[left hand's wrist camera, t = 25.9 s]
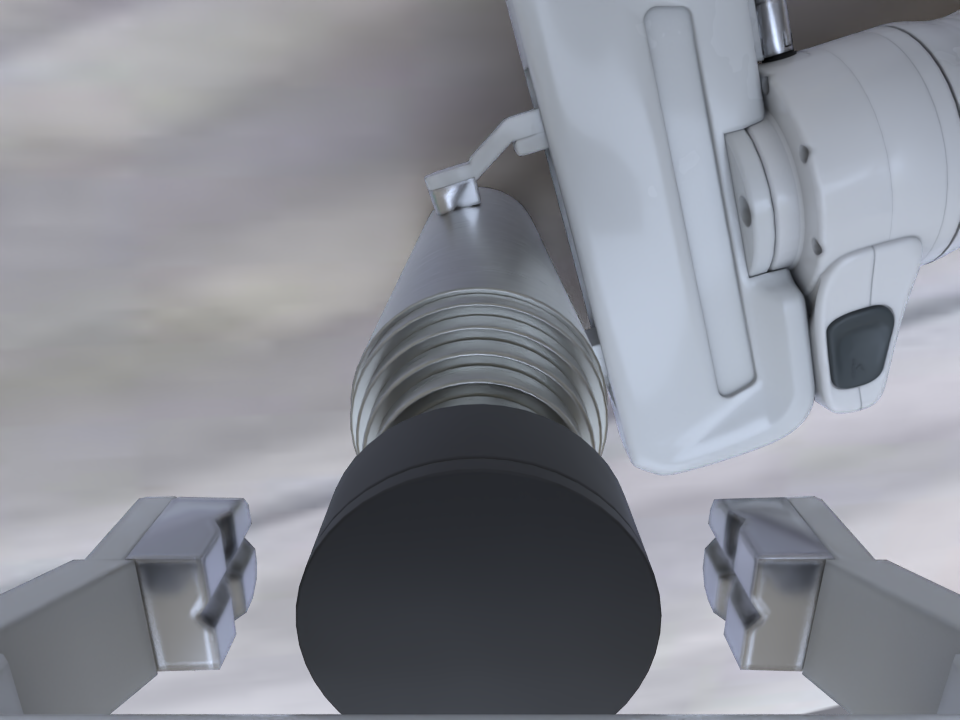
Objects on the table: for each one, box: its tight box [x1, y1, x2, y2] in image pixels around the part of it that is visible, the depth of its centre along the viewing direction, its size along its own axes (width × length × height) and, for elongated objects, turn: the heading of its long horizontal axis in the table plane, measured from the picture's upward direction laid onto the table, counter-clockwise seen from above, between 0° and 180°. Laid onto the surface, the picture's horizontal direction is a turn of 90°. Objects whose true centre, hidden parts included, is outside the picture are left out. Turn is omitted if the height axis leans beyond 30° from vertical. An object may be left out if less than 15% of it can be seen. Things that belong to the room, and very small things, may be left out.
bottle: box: [350, 187, 608, 456], centre depth 21 cm, size 6×6×25 cm
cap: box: [296, 404, 661, 714], centre depth 9 cm, size 4×4×2 cm
